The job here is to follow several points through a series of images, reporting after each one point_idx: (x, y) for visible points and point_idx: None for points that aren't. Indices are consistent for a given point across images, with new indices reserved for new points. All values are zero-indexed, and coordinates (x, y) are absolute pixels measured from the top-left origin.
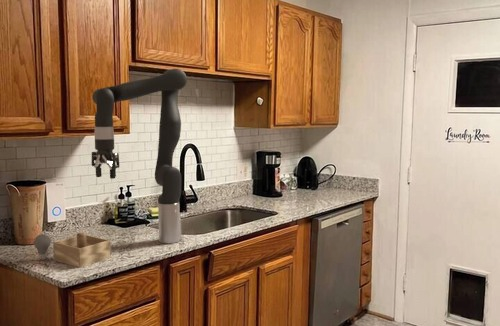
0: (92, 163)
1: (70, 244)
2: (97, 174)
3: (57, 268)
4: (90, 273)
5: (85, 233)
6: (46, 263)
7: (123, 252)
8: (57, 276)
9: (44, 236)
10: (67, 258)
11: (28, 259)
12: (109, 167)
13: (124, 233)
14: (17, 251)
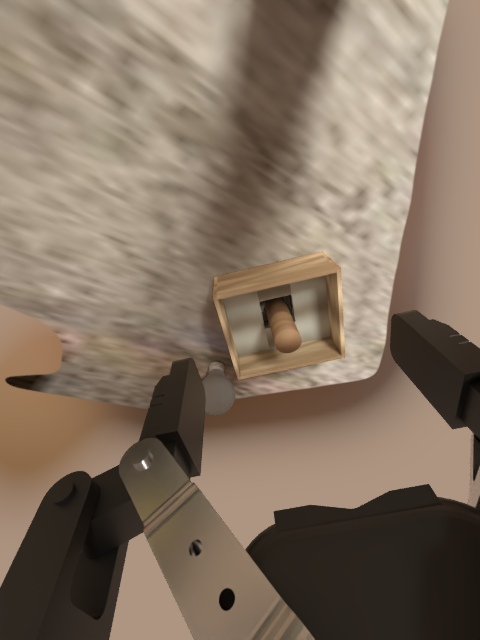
0: (104, 562)
1: (229, 330)
2: (202, 410)
3: None
4: (380, 331)
5: (294, 333)
6: None
7: (306, 195)
8: (341, 376)
9: (226, 404)
10: None
11: None
12: (475, 457)
13: (48, 25)
14: (114, 384)
